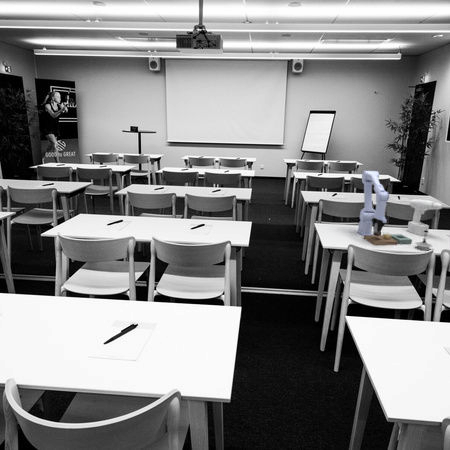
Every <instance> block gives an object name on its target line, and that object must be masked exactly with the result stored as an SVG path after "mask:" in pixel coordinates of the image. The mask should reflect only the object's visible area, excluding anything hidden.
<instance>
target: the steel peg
mask: <svg viewBox="0 0 450 450" xmlns="http://www.w3.org/2000/svg"><path fill="white" fill-rule="evenodd" d="M372 234H373V235H375V236H380V234H381V232H378V231H377V222H376V223H375V226H374V229H373V232H372Z"/></svg>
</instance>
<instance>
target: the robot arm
mask: <svg viewBox="0 0 450 450" xmlns="http://www.w3.org/2000/svg"><path fill="white" fill-rule="evenodd" d="M379 178H380V173H379V171H378V170H363V172H362V174H361V182H362V184H363V186H364V187H363V193H364V194H363V196H364V199H363V200H364V203H363V205H364V208H362V209H361V210H360V212H359V220H360V221H359V222H358V226H357V228H358V229H357V230H356V232H357V233H358V234H360V235H361V236H372V235H373V233H372V230H374V226H375V223H376V222H377V231H378V232H380V233H381V231H382V230H383V228H384V226H385V224H387V221H388V220H387V219H386V216H385V212H386V208H387V207H386V206H387V201H389V199H390V195H389V192H388V191H386V189H385V188H384V185H383V184H382V183H380V180H379ZM372 186H374V187H372ZM372 189H373V190H374V193H375V194H376V195H375V204H376V205H375V209H374V208H373V199H372V198H373V195H372V194H373V191H372Z"/></svg>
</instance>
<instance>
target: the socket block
mask: <svg viewBox="0 0 450 450" xmlns="http://www.w3.org/2000/svg"><path fill="white" fill-rule="evenodd" d="M363 239H364V240H365V239H366V241H368V242H369V243H371V244H372V245H374V246H390V245H391V246H394V245H395V246H398V242H397V241H395V240H393V239H392V238H390V239H384V236H383V234H382V235H380V236H375V235H363Z"/></svg>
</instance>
